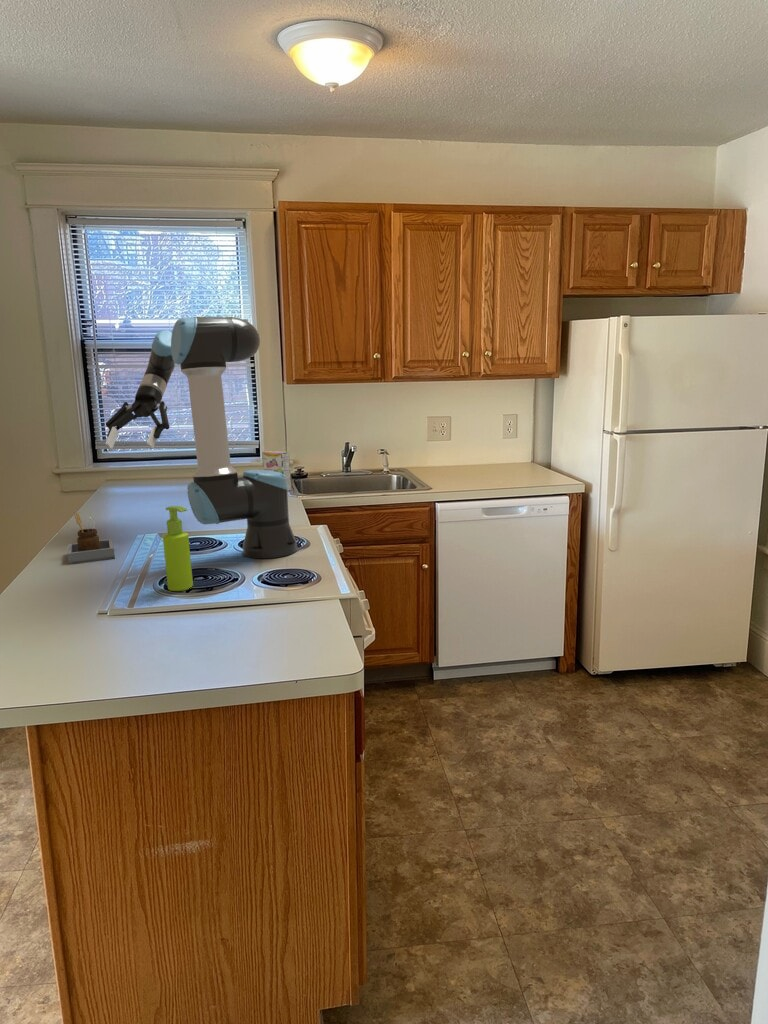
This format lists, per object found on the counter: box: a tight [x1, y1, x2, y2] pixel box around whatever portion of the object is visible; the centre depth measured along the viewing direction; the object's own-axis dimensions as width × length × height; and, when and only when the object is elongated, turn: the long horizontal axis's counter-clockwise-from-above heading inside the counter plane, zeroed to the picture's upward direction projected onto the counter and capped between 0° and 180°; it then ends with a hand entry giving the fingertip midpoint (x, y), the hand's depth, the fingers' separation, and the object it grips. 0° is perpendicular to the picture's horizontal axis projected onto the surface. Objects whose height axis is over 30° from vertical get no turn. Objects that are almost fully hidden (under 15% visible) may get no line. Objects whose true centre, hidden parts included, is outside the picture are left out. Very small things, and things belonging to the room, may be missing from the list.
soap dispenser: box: [162, 505, 194, 592], centre depth 169 cm, size 6×7×20 cm
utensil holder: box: [73, 512, 101, 552], centre depth 201 cm, size 6×6×12 cm
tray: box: [66, 538, 116, 565], centre depth 202 cm, size 12×12×3 cm
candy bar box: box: [261, 450, 292, 492], centre depth 295 cm, size 11×5×16 cm, turn 58°
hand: (129, 446), depth 209 cm, fingers open, 13 cm apart
